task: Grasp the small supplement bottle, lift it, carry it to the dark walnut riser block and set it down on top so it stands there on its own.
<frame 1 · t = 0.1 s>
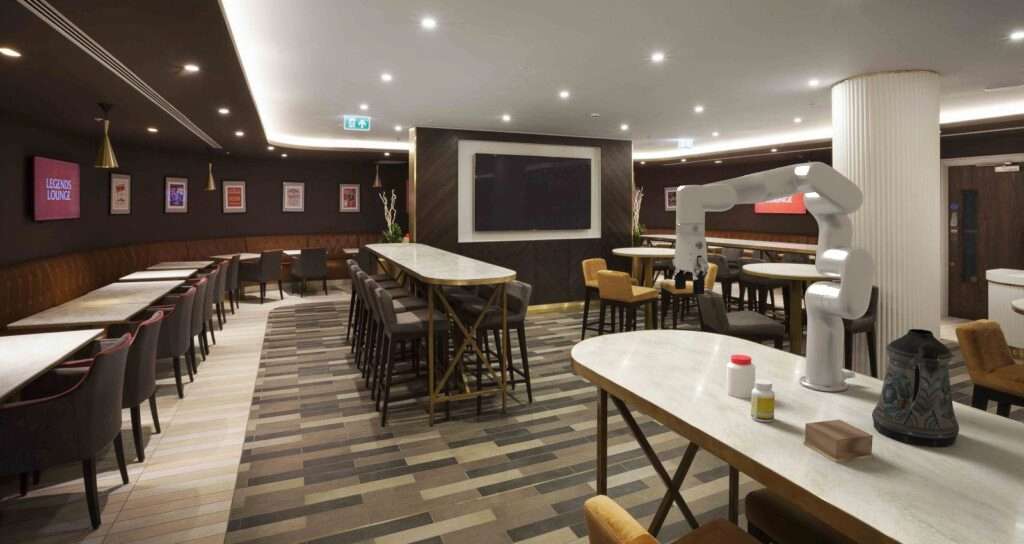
hand: (689, 291, 149), 31 cm above the table, tool pointing down, fingers open, 9 cm apart
pill bottle: (740, 394, 156), on the table
supplement bottle: (762, 419, 138), on the table
patterned ceramic jug: (917, 436, 126), on the table
walnut riser: (837, 450, 119), on the table
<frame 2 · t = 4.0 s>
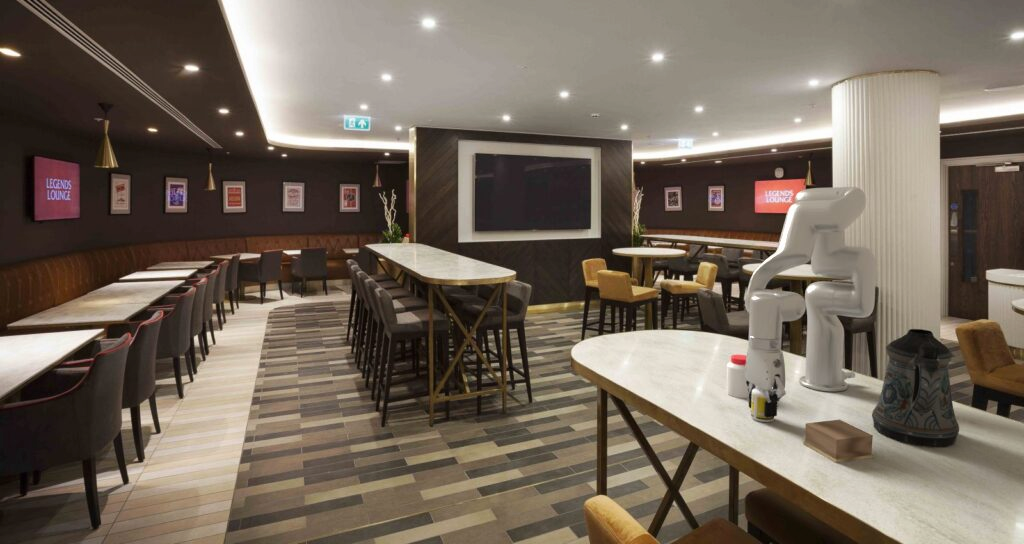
hand: (762, 411, 137), 2 cm above the table, tool pointing down, fingers closed on supplement bottle, 5 cm apart
supplement bottle: (762, 419, 138), on the table, touching gripper
everything else where it was.
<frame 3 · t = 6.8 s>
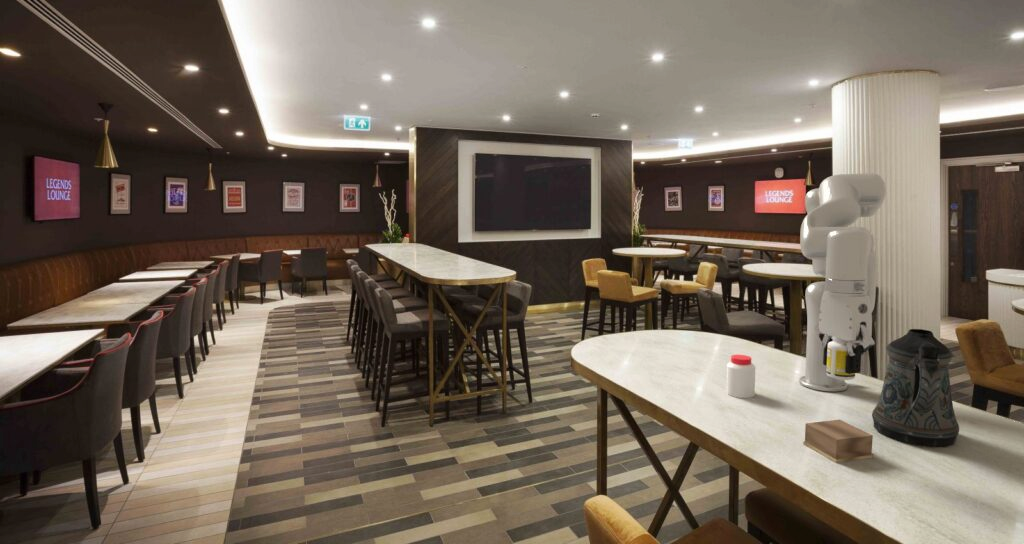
hand: (841, 367, 117), 19 cm above the table, tool pointing down, fingers closed on supplement bottle, 5 cm apart
supplement bottle: (840, 377, 117), point 17 cm above the table, touching gripper
everything else where it was.
when the fingers open (8 cm above the table, at t = 9.6 s): supplement bottle stays where it is, resting on walnut riser.
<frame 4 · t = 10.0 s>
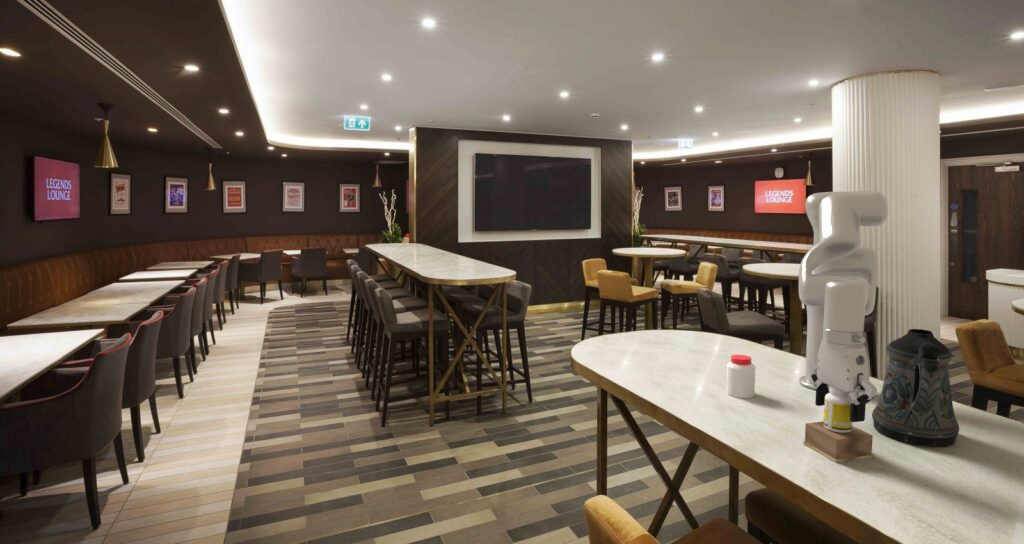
hand: (839, 412, 118), 9 cm above the table, tool pointing down, fingers open, 9 cm apart
supplement bottle: (837, 429, 119), point 5 cm above the table, touching walnut riser
everything else where it was.
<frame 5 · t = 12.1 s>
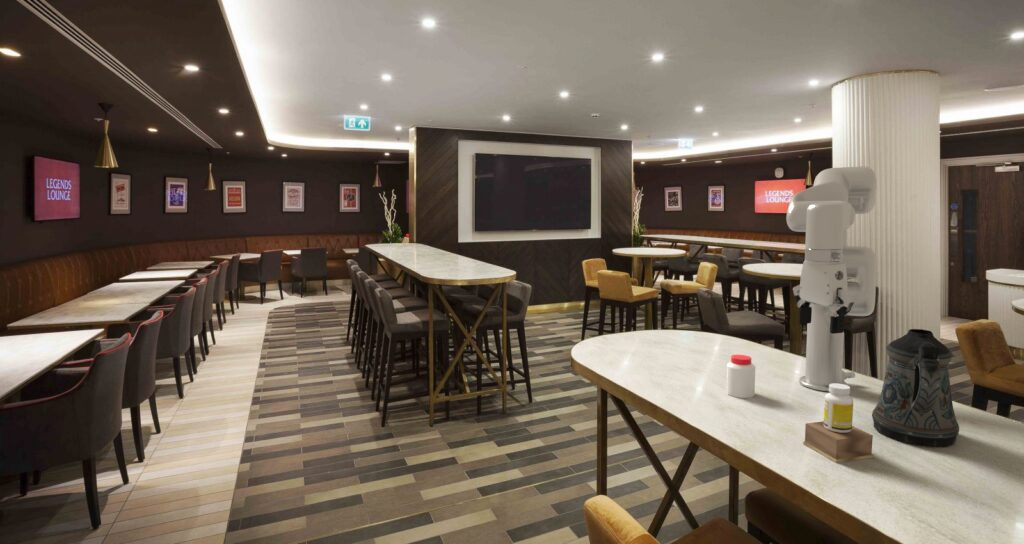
hand: (820, 328, 126), 26 cm above the table, tool pointing down, fingers open, 9 cm apart
nothing on the table moved.
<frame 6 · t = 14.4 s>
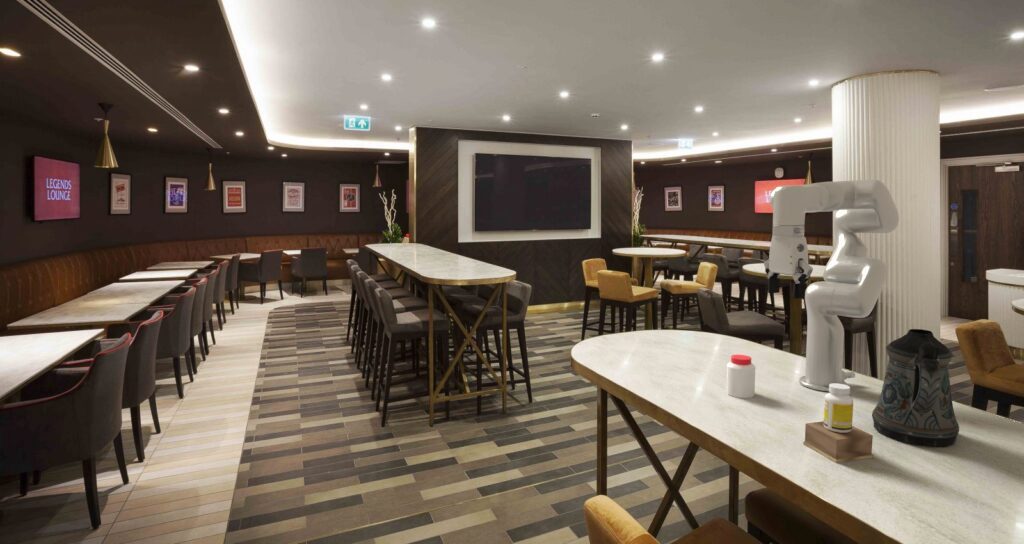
hand: (785, 295, 144), 30 cm above the table, tool pointing down, fingers open, 9 cm apart
nothing on the table moved.
at the end: supplement bottle inside the target area on the walnut riser (0.3 cm from its centre), point 4.8 cm above the walnut riser's base; supplement bottle tilted 0°; supplement bottle touching walnut riser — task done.
